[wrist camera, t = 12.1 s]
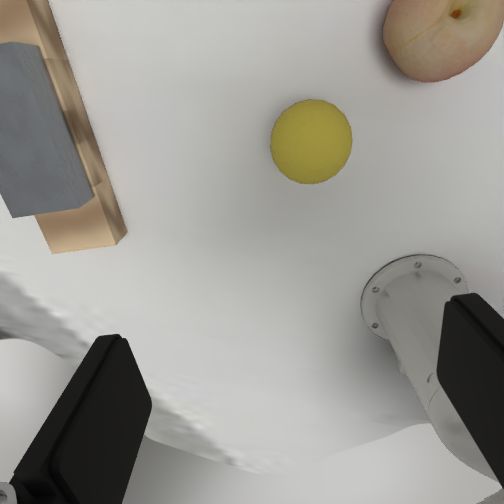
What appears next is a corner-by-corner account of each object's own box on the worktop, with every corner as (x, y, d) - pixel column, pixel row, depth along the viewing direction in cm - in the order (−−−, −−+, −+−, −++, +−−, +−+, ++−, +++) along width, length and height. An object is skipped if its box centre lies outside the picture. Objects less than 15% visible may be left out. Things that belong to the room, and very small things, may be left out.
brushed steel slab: (107, 187, 36) (78, 208, 31) (50, 196, 37) (12, 218, 31) (58, 48, 31) (11, 41, 25) (-8, 61, 31) (-69, 56, 25)
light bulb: (323, 171, 36) (345, 202, 27) (261, 158, 35) (262, 184, 26) (343, 104, 33) (376, 113, 24) (276, 88, 32) (284, 91, 24)
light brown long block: (127, 232, 39) (116, 245, 36) (68, 240, 40) (52, 253, 37) (38, -27, 29) (11, -40, 26) (-41, -11, 29) (-76, -22, 26)
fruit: (454, -47, 28) (522, -90, 21) (472, 54, 31) (537, 46, 24) (360, 6, 30) (393, -17, 22) (387, 97, 33) (423, 102, 26)
